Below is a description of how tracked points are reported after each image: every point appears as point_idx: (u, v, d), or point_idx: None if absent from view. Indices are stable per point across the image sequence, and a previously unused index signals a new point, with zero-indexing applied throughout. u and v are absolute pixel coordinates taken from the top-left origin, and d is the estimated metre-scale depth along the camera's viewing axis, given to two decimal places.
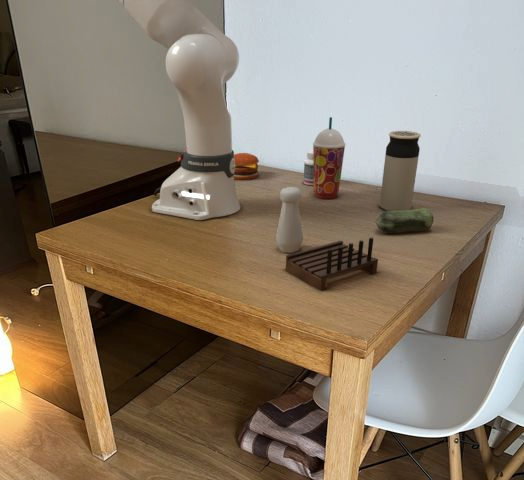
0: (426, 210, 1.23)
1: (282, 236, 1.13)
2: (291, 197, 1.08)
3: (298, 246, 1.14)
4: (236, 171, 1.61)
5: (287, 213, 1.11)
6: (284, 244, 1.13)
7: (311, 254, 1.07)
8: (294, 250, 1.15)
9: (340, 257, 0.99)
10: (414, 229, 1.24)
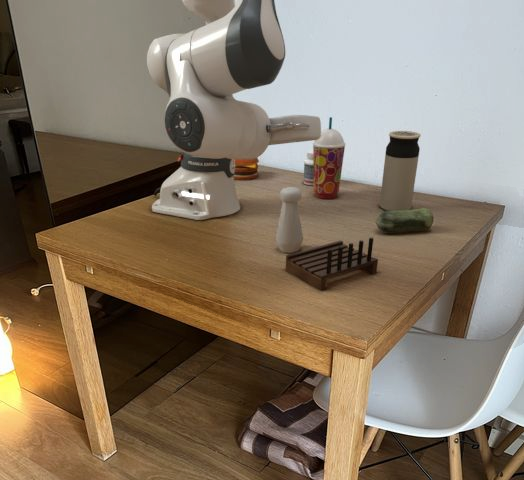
0: (426, 210, 1.23)
1: (282, 236, 1.13)
2: (291, 197, 1.08)
3: (298, 246, 1.14)
4: (236, 171, 1.61)
5: (287, 213, 1.11)
6: (284, 244, 1.13)
7: (311, 254, 1.07)
8: (294, 250, 1.15)
9: (340, 257, 0.99)
10: (414, 229, 1.24)
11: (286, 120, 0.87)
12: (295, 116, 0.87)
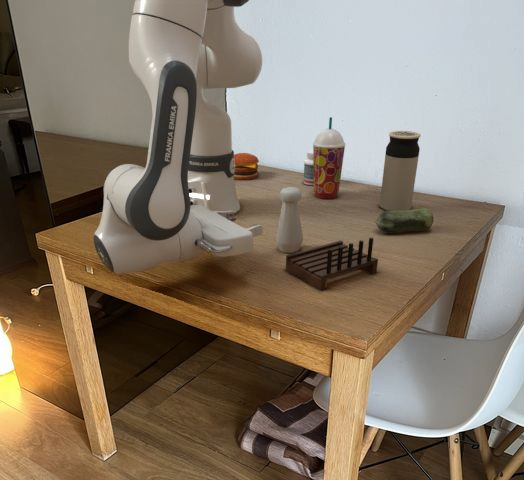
0: (426, 210, 1.23)
1: (282, 236, 1.13)
2: (291, 197, 1.08)
3: (298, 246, 1.14)
4: (236, 171, 1.61)
5: (287, 213, 1.11)
6: (284, 244, 1.13)
7: (311, 254, 1.07)
8: (294, 250, 1.15)
9: (340, 257, 0.99)
10: (414, 229, 1.24)
11: (211, 240, 0.96)
12: (217, 240, 0.95)
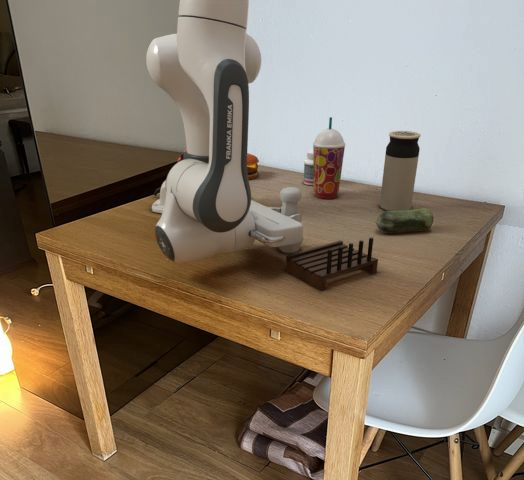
0: (426, 210, 1.23)
1: None
2: (291, 197, 1.08)
3: (298, 246, 1.14)
4: None
5: (287, 213, 1.11)
6: None
7: (311, 254, 1.07)
8: (294, 250, 1.15)
9: (340, 257, 0.99)
10: (414, 229, 1.24)
11: (264, 231, 1.02)
12: (270, 230, 1.01)
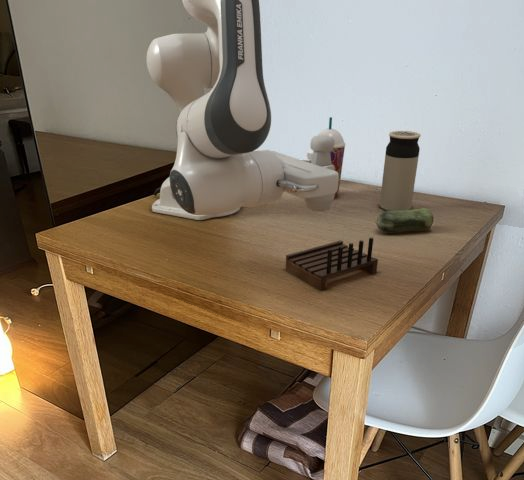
0: (426, 210, 1.23)
1: None
2: (323, 145, 0.96)
3: (329, 204, 1.02)
4: None
5: (318, 165, 0.98)
6: (313, 201, 1.00)
7: (311, 254, 1.07)
8: (325, 208, 1.02)
9: (340, 257, 0.99)
10: (414, 229, 1.24)
11: (295, 179, 0.89)
12: (302, 178, 0.88)
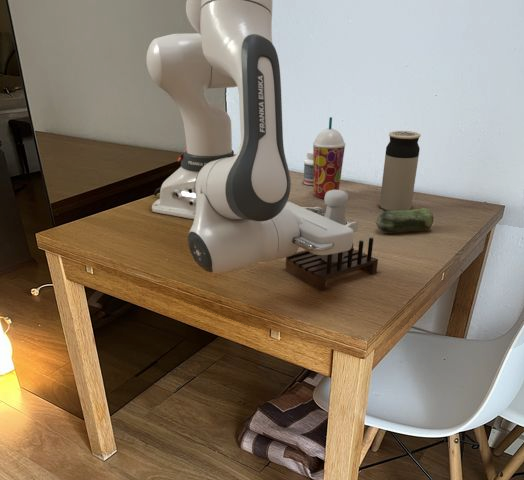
0: (426, 210, 1.23)
1: None
2: (337, 200, 0.97)
3: (343, 255, 1.03)
4: None
5: (332, 219, 0.99)
6: None
7: (311, 254, 1.07)
8: None
9: (340, 257, 0.99)
10: (414, 229, 1.24)
11: (311, 238, 0.90)
12: (318, 237, 0.89)
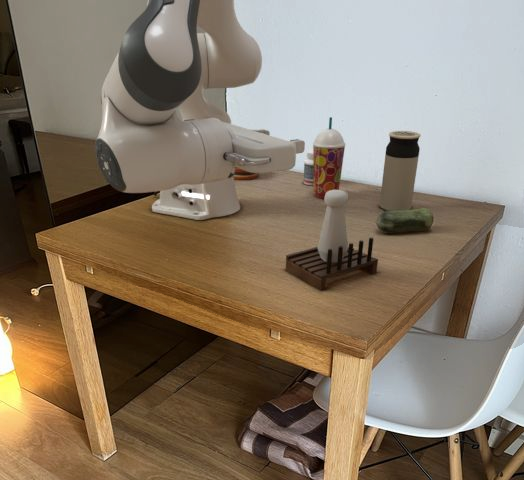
0: (426, 210, 1.23)
1: (325, 244, 1.01)
2: (337, 200, 0.97)
3: (343, 255, 1.03)
4: (236, 171, 1.61)
5: (332, 219, 0.99)
6: (327, 253, 1.02)
7: (311, 254, 1.07)
8: None
9: (340, 257, 0.99)
10: (414, 229, 1.24)
11: (244, 151, 0.76)
12: (252, 149, 0.75)
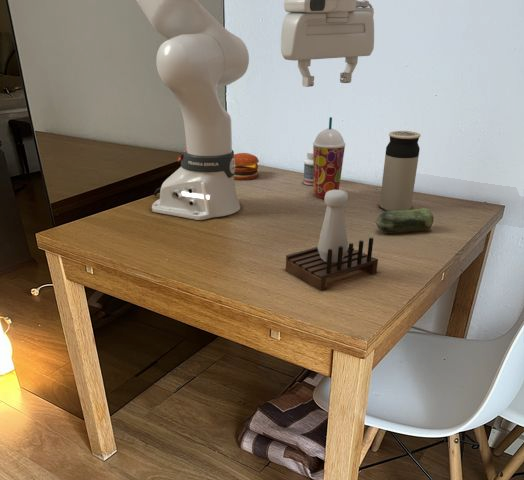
0: (426, 210, 1.23)
1: (325, 244, 1.01)
2: (337, 200, 0.97)
3: (343, 255, 1.03)
4: (236, 171, 1.61)
5: (332, 219, 0.99)
6: (327, 253, 1.02)
7: (311, 254, 1.07)
8: None
9: (340, 257, 0.99)
10: (414, 229, 1.24)
11: None
12: None
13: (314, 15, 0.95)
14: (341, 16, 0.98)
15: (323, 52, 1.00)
